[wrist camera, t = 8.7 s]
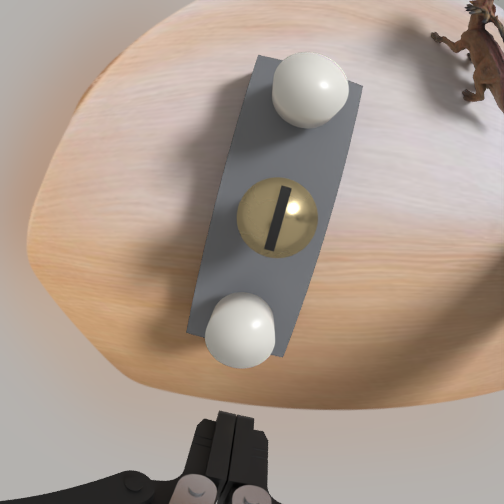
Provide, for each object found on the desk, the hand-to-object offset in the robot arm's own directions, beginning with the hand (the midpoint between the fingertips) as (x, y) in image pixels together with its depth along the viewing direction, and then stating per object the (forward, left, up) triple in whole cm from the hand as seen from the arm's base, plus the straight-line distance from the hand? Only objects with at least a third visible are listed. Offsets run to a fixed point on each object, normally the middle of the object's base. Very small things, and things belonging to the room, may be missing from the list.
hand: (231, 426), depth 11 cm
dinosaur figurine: (+6, -32, -15) cm, 36 cm away
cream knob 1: (0, 0, -10) cm, 10 cm away
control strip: (+5, -6, -14) cm, 17 cm away
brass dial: (+5, -6, -8) cm, 12 cm away
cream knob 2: (+10, -13, -10) cm, 19 cm away
